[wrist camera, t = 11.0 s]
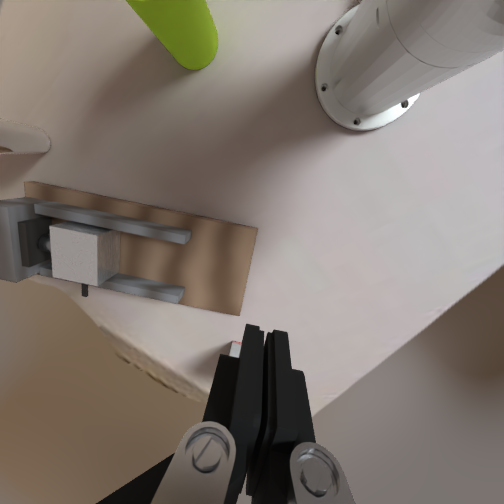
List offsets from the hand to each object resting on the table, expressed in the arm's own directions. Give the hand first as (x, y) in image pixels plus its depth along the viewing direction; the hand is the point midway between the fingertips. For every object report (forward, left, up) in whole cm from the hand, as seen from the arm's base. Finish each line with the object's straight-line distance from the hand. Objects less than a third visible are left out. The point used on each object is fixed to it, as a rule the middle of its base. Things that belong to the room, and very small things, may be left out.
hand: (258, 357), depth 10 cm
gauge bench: (+8, -18, -27) cm, 33 cm away
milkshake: (-5, -33, -27) cm, 43 cm away
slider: (+10, -25, -25) cm, 37 cm away
